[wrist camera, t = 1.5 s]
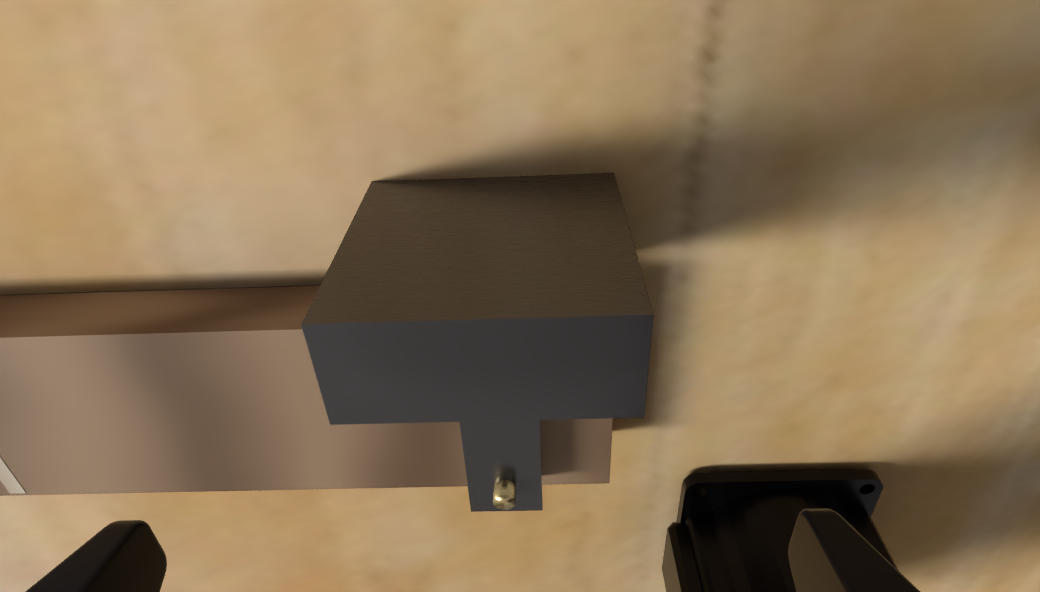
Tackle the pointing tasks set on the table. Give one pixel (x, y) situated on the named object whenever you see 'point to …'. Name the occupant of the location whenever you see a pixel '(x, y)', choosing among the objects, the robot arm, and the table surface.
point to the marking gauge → (485, 318)
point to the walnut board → (210, 403)
